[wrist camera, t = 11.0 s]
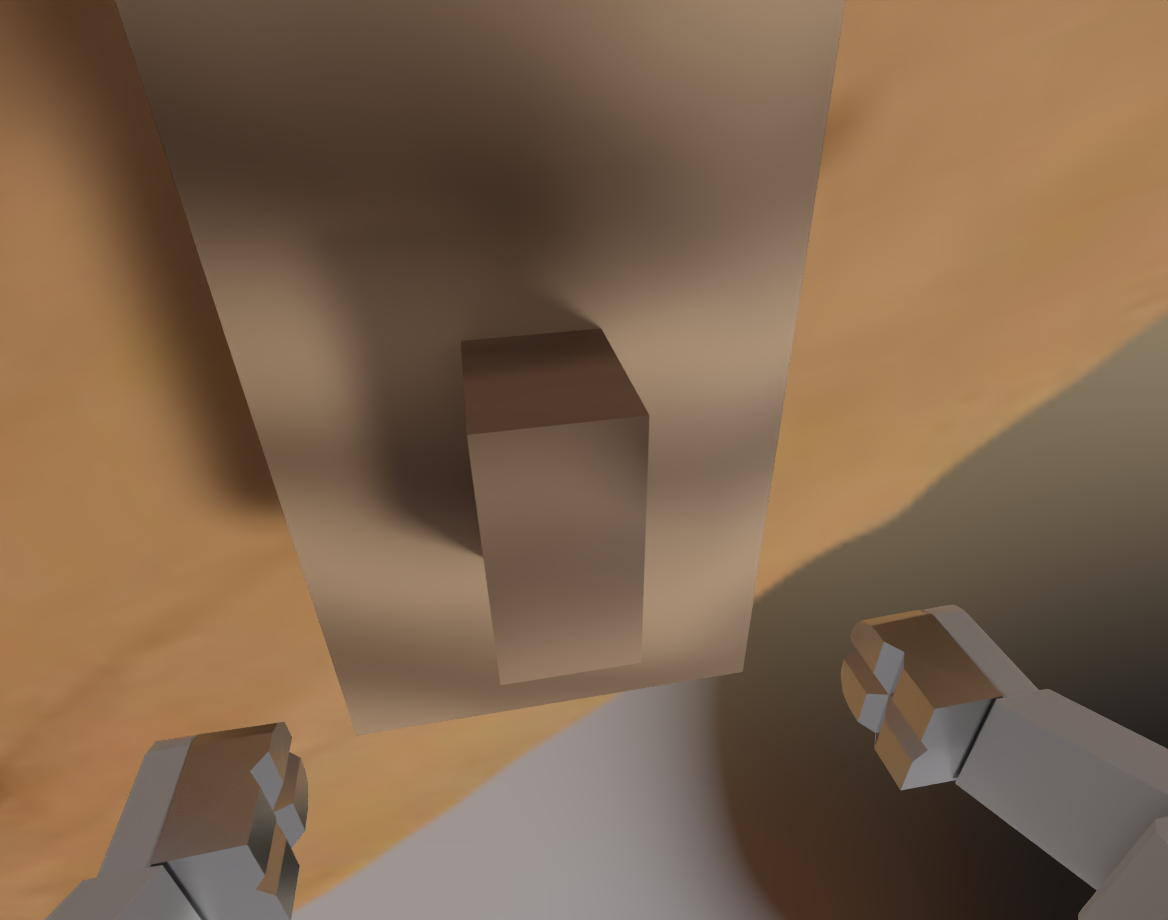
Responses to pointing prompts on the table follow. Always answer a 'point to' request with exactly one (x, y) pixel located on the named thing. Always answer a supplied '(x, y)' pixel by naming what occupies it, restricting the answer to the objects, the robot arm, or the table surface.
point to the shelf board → (505, 316)
